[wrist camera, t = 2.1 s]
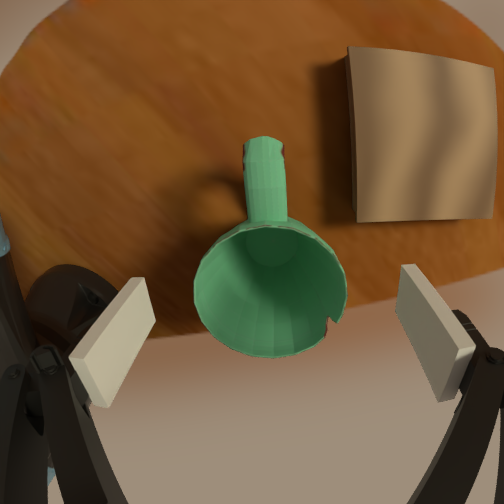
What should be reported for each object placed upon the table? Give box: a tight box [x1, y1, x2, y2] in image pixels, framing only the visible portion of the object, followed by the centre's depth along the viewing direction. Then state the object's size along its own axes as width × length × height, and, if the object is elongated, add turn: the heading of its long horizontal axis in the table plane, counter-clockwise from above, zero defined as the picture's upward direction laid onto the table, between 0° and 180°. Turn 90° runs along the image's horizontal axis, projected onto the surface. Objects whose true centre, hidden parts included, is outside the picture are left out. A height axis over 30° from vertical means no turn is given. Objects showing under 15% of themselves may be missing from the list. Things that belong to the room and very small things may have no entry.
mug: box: [193, 136, 348, 358], centre depth 24 cm, size 15×10×10 cm
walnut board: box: [344, 46, 497, 223], centre depth 23 cm, size 14×14×3 cm
